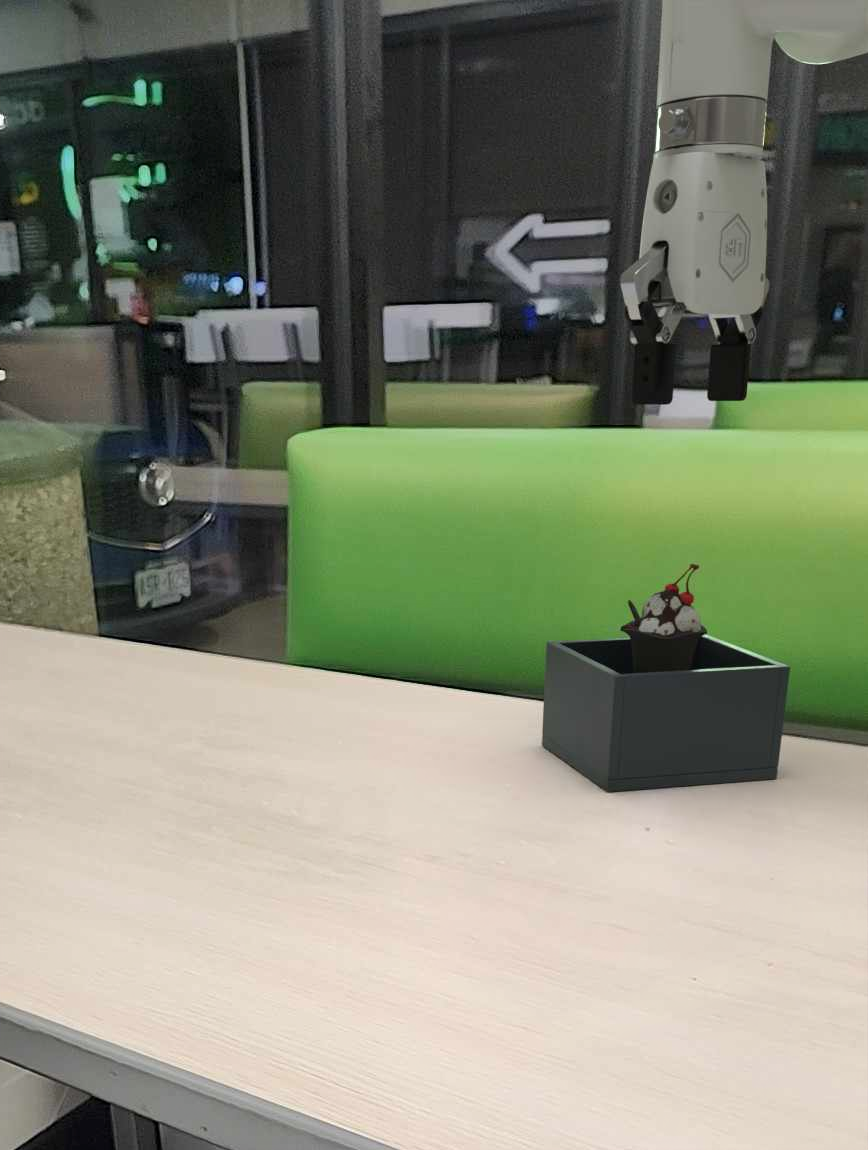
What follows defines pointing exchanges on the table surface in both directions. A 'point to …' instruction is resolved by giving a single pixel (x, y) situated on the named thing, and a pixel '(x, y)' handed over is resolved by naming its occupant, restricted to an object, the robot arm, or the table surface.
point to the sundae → (665, 630)
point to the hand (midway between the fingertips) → (690, 402)
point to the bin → (663, 715)
